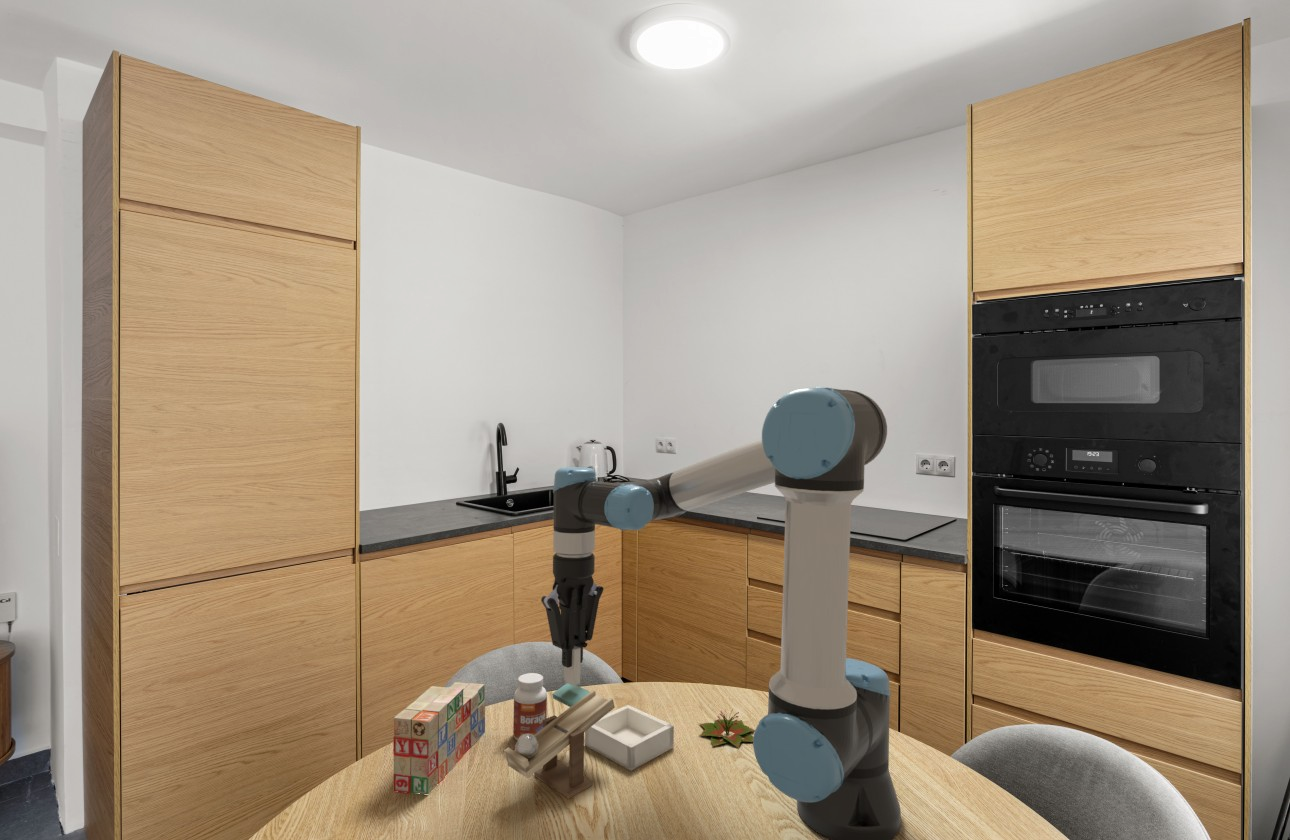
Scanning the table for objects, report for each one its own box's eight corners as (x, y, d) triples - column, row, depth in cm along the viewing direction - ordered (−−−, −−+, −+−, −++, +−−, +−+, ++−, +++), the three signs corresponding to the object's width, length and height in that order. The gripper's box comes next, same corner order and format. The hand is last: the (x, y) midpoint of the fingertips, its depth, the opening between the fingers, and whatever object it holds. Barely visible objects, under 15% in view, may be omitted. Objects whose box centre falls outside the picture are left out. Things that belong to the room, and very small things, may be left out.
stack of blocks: (455, 729, 125) (455, 665, 125) (485, 732, 124) (486, 668, 123) (392, 792, 104) (393, 716, 104) (428, 797, 103) (429, 720, 102)
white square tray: (673, 747, 118) (673, 725, 118) (630, 770, 110) (631, 747, 110) (627, 725, 127) (627, 704, 126) (584, 745, 119) (585, 723, 119)
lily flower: (689, 724, 128) (689, 701, 128) (746, 718, 130) (746, 696, 130) (706, 755, 116) (706, 730, 116) (769, 749, 119) (769, 724, 119)
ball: (544, 754, 102) (541, 733, 102) (525, 767, 100) (523, 745, 99) (530, 746, 105) (528, 726, 104) (512, 758, 102) (509, 737, 102)
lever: (616, 708, 112) (612, 693, 111) (528, 779, 99) (524, 763, 98) (569, 687, 121) (566, 673, 120) (484, 749, 107) (480, 734, 107)
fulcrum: (592, 785, 106) (592, 729, 106) (568, 798, 102) (568, 740, 102) (557, 764, 112) (558, 711, 112) (534, 775, 109) (534, 721, 108)
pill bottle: (518, 747, 118) (518, 687, 118) (509, 732, 123) (510, 674, 123) (550, 740, 121) (551, 680, 120) (541, 725, 126) (541, 669, 126)
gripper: (587, 544, 124) (585, 666, 124) (532, 555, 115) (530, 686, 115) (614, 551, 119) (612, 678, 119) (558, 562, 110) (556, 700, 110)
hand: (572, 682), depth 117 cm, fingers closed
